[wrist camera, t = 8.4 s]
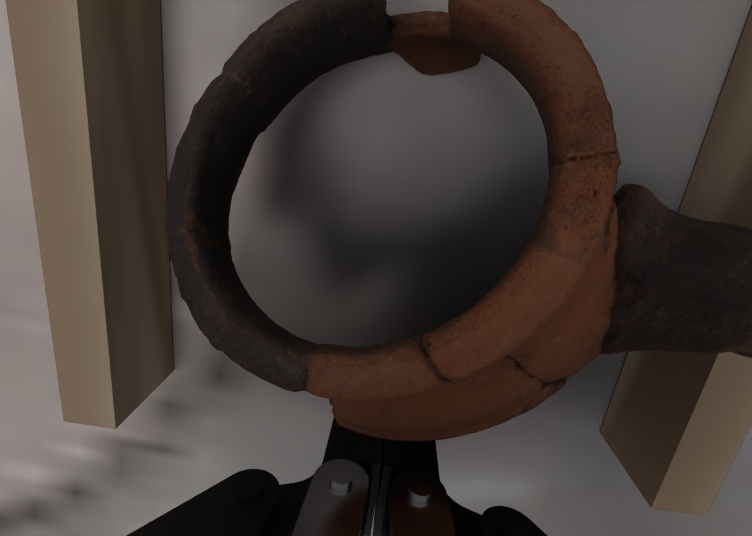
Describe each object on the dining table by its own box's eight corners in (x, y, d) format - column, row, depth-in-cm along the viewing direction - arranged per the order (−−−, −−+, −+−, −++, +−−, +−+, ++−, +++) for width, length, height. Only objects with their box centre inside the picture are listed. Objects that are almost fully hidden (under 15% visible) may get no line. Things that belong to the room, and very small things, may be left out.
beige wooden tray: (866, -120, 9) (1203, -310, 5) (643, 438, 14) (735, 551, 10) (90, -209, 9) (-119, -445, 6) (131, 364, 14) (32, 446, 10)
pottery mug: (298, 381, 15) (68, 424, 7) (335, 137, 16) (181, -60, 8) (694, 455, 11) (1188, 736, 3) (698, 130, 12) (1045, -242, 4)
